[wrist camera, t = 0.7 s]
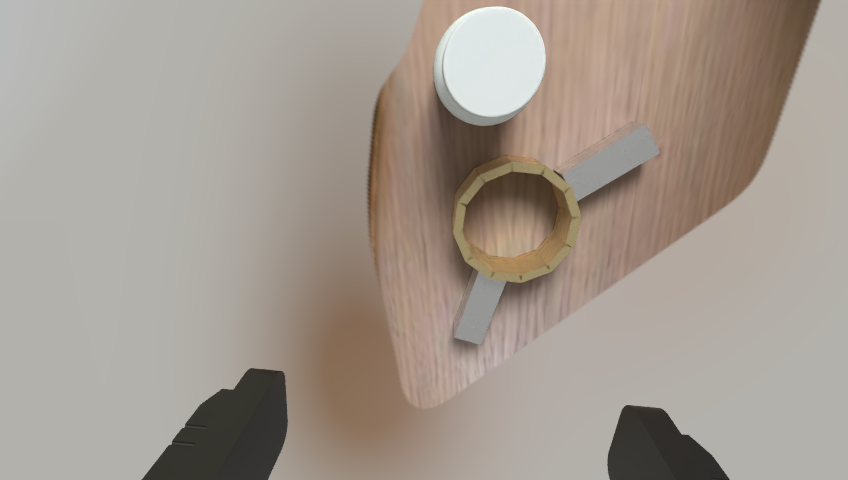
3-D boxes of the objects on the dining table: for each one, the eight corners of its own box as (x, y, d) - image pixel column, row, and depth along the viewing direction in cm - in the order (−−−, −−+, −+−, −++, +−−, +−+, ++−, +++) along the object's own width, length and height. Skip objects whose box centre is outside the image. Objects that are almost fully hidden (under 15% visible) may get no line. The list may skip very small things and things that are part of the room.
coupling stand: (558, 60, 27) (574, 55, 24) (651, 140, 29) (677, 145, 26) (387, 278, 33) (382, 296, 30) (472, 336, 34) (475, 359, 31)
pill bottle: (533, 88, 28) (582, 83, 18) (462, 136, 29) (473, 154, 20) (491, 10, 26) (520, -39, 17) (417, 64, 27) (407, 46, 18)
